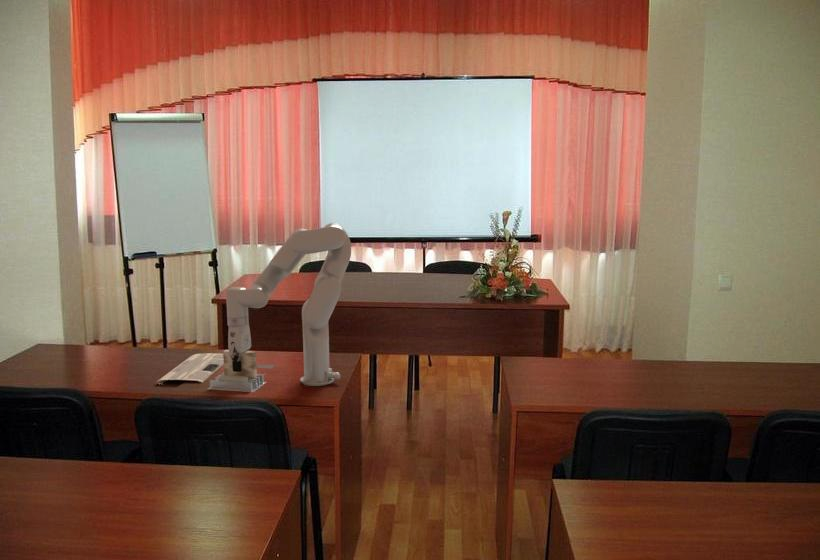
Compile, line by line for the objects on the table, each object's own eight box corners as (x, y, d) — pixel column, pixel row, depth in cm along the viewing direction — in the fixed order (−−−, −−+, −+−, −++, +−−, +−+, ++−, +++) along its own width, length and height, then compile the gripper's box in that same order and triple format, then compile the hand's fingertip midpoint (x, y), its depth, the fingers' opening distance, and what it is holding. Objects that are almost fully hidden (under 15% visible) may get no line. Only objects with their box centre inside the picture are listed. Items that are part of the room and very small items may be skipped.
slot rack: (267, 384, 279) (266, 374, 278) (253, 394, 267) (253, 383, 266) (222, 381, 282) (221, 371, 282) (207, 391, 271) (206, 380, 270)
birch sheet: (257, 383, 277) (255, 351, 275) (255, 384, 275) (253, 352, 273) (227, 381, 280) (225, 349, 278) (224, 382, 278) (223, 351, 276)
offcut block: (248, 387, 272) (248, 376, 271) (244, 389, 269) (244, 379, 268) (222, 385, 274) (222, 375, 273) (219, 388, 271) (218, 377, 271)
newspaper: (202, 387, 278) (201, 379, 278) (151, 386, 280) (151, 379, 279) (232, 359, 314) (232, 353, 314) (187, 359, 316) (187, 352, 315)
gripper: (237, 326, 265) (239, 376, 268) (257, 316, 281) (259, 363, 284) (217, 325, 266) (220, 375, 269) (238, 315, 282) (240, 362, 285)
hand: (240, 368), depth 276 cm, fingers open, 4 cm apart
